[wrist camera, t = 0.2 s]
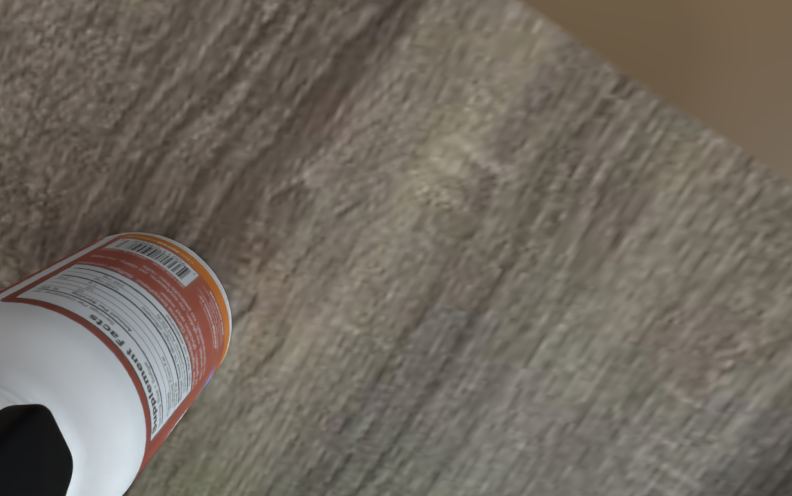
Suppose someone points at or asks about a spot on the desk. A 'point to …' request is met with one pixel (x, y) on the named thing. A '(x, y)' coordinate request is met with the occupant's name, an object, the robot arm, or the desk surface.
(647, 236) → the desk surface
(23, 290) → the pill bottle
